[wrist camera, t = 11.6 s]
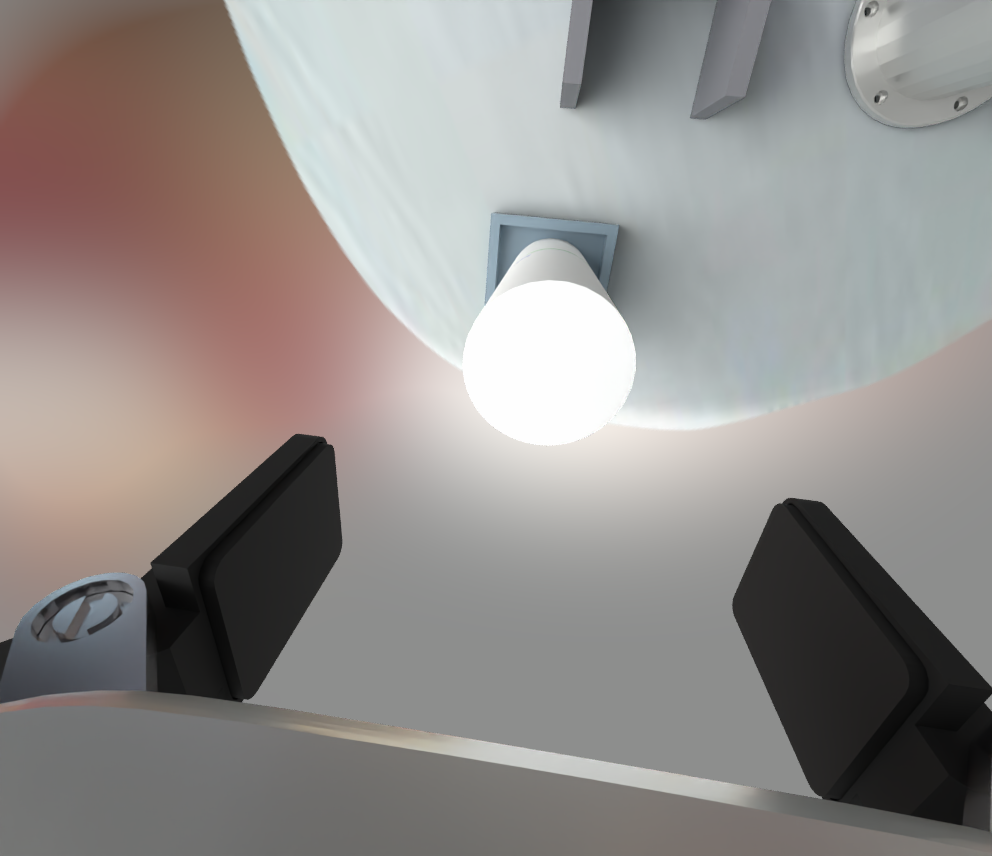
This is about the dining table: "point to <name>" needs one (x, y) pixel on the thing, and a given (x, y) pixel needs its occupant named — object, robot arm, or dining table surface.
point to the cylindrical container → (549, 349)
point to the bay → (723, 62)
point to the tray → (523, 230)
